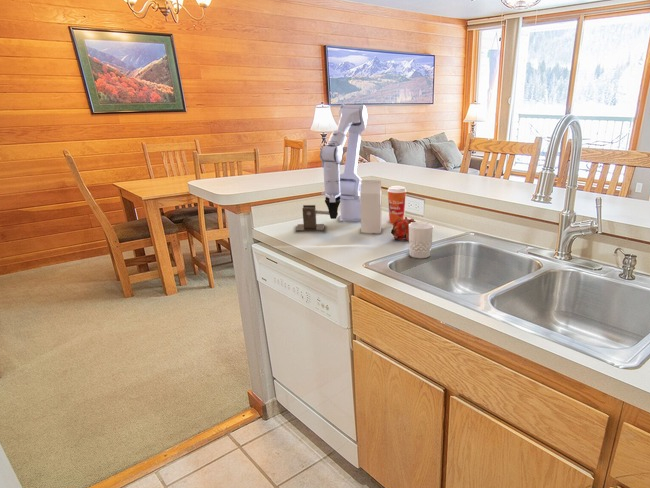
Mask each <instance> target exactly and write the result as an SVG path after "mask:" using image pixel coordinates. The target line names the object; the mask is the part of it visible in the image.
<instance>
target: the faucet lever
mask: <svg viewBox="0 0 650 488" xmlns="http://www.w3.org/2000/svg"><path fill="white" fill-rule="evenodd" d="M306 208H309V207H306ZM315 214H316V215H319V214H320V215H328V216H330V214H329V210H317V209H316V210H315ZM338 215H339V213H338V211H337V216H338Z"/></svg>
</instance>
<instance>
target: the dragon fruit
mask: <svg viewBox="0 0 650 488" xmlns="http://www.w3.org/2000/svg"><path fill="white" fill-rule="evenodd" d="M413 222H416V220H415V219H414V218H412V217H411V218H408V217H407V216H404V219H399V220H398V221H396V222H394V223H393V224H392V229H391V230H390V234H391V235H392V236H394V237H393V239H394V240H395V241H396V240H397V241H401V240H404V239H405V240H406V242H407V241H408V242H409V224H410V223H413Z"/></svg>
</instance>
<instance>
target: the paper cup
mask: <svg viewBox="0 0 650 488" xmlns="http://www.w3.org/2000/svg"><path fill="white" fill-rule="evenodd" d="M407 192H408V190H407V189H406V186H402V185H391V186H389V187H388V188H387V199H388V217H389V219H388V220H389V223H390V224H392V225H393V223H394V222H396V221H398V220H399V219H405V207H406V197H407V196H406V195H407Z"/></svg>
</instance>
